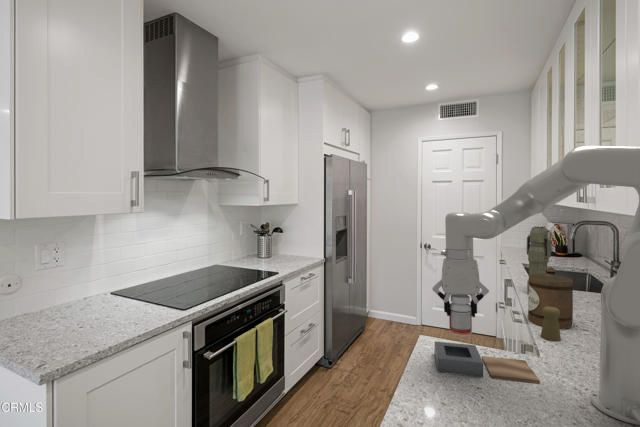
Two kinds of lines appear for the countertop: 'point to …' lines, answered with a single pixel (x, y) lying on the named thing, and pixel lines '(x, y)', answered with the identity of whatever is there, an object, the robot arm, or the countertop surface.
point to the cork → (551, 324)
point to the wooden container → (550, 297)
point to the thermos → (538, 251)
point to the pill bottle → (460, 316)
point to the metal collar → (458, 359)
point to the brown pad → (509, 369)
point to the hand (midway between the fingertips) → (460, 314)
